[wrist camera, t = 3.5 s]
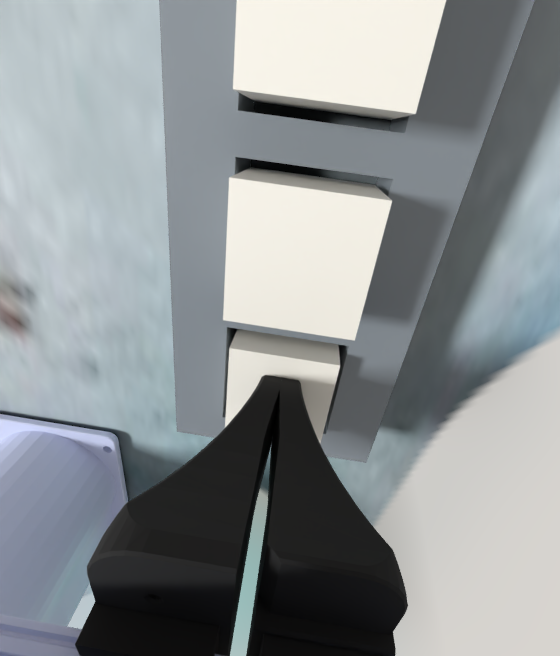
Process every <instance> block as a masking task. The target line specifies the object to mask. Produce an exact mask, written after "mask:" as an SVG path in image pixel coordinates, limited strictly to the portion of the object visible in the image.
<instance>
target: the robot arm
mask: <svg viewBox="0 0 560 656" xmlns="http://www.w3.org/2000/svg"><path fill="white" fill-rule="evenodd" d="M270 447H271V458H270V475H269V493H268V507H267V508H268V509H267V517H266V525H265V532H264V538H263V546H262V552H261V560H260V566H259V573H258V580H257V586H256V593H255V600H254V607H253V614H252V621H251V628H250V635H249V641H248V648H247V655H246V656H395V643H394V637H393V631H394V629H395V628H396V626H397V625H398V623H399V622H400V620H401V619H402V617H403V616H404V614H405V612H406V610H407V606H408V604H407V597H406V591H405V587H404V583H403V579H402V576H401V572H400V569H399V566H398V563H397V560H396V557H395V555H394V552H393V550H392V549H391V547H390V546H389V545H388V544H387V543H386V542H385V540H384V539H383V538H382V537H381V536H380V535H379V533H378V532H377V531H376V530H375V529H374V527H373V526H372V525H371V524H370V522H369V521H368V520H367V518H366V517H365V516H364V514H363V513H362V512H361V511H360V509H359V508H358V507H357V505H356V504H355V502H354V501H353V499H352V498H351V496H350V495H349V493H348V492H347V490H346V489H345V487H344V486H343V484H342V483H341V481H340V480H339V478H338V476H337V475H336V473H335V471H334V470H333V468H332V466H331V464H330V462H329V461H328V459H327V457H326V455H325V453H324V451H323V449H322V447H321V445H320V442H319V440H318V438H317V436H316V433H315V431H314V428H313V426H312V423H311V420H310V418H309V415H308V412H307V409H306V406H305V402H304V398H303V394H302V389H301V383H300V382H299V380H294V379H288V378H282V377H275V376H269V375H264V376H262V377H261V380H260V382H259V383H258V385H257V387H256V389H255V390H254V392H253V393H252V395H251V396H250V398H249V399H248V400H247V402H246V403H245V404H244V406H243V407H242V408H241V410H240V411H239V412H238V413H237V415H236V416H235V417H234V418H233V419H232V420H231V422H230V423H229V424H228V425H227V426H226V427H225V428H224V429H223V430H222V431H221V433H220V434H219V435H218V436H217V437H216V438H215V439H213V440H212V441H211V442H210V443H209V444H208V445H207V446H206V447H205V448H204V449H203V450H201V451H200V452H199V453H198V454H197V455H196V456H195V457H193V458H192V459H191V460H190V461H188V462H187V463H186V464H185V465H183V466H182V467H181V468H179V469H178V470H176V471H175V472H174V473H172V474H171V475H170V476H168V477H167V478H165V479H164V480H163V481H161V482H160V483H158V484H157V485H155V486H154V487H152V488H150V489H149V490H147V491H145V492H144V493H142V494H141V495H139V496H137V497H136V498H134V499H132V500H131V501H129V502H128V497H127V491H126V485H125V478H124V472H123V466H122V460H121V454H120V448H119V441H118V438H117V436H116V435H115V434H113V433H110V432H106V431H100V430H94V429H88V428H82V427H76V426H70V425H64V424H58V423H52V422H46V421H40V420H34V419H28V418H22V417H15V416H9V415H3V414H0V656H230V651H231V645H232V639H233V632H234V627H235V621H236V615H237V609H238V603H239V597H240V591H241V585H242V579H243V573H244V567H245V561H246V556H247V549H248V544H249V538H250V532H251V526H252V520H253V515H254V510H255V505H256V500H257V497H258V493H259V489H260V485H261V482H262V478H263V474H264V470H265V466H266V463H267V459H268V455H269V451H270ZM89 583H90V585H91V588H92V591H93V595H94V598H95V604H94V606H93V608H92V610H91V612H90V614H89V616H88V618H87V620H86V622H85V624H84V626H83V629H78V628H72V627H67V626H68V624H69V622H70V620H71V618H72V616H73V614H74V612H75V610H76V608H77V606H78V604H79V602H80V600H81V598H82V597H83V595H84V593H85V591H86V589H87V587H88V585H89Z"/></svg>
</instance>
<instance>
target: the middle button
mask: <svg viewBox="0 0 560 656" xmlns="http://www.w3.org/2000/svg"><path fill="white" fill-rule="evenodd" d="M391 204H392V200H391V199H390V198H389V197H388V196H386V195H385V194H384V193H383V192H382V191H381V190H380V189H379V188H377V187H376V186H375V185H373V184H366V183H359V182H352V181H345V180H338V179H331V178H324V177H317V176H310V175H302V174H295V173H288V172H281V171H274V170H267V169H260V168H253V167H251V168H249V169H247V170H244V171H242V172H240V173H238V174H235V175H233V176H231V177H229V192H228V215H227V238H226V262H225V285H224V309H223V320H225V321H232V322H238V323H244V324H251V325H257V326H264V327H270V328H277V329H283V330H289V331H296V332H302V333H309V334H315V335H322V336H328V337H335V338H341V339H347V340H354V341H355V338H356V334H357V330H358V327H359V323H360V319H361V315H362V312H363V308H364V304H365V301H366V297H367V293H368V289H369V286H370V282H371V278H372V274H373V271H374V267H375V263H376V260H377V256H378V252H379V248H380V245H381V241H382V237H383V234H384V230H385V226H386V222H387V219H388V215H389V211H390V208H391Z"/></svg>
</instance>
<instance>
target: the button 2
mask: <svg viewBox="0 0 560 656" xmlns="http://www.w3.org/2000/svg"><path fill="white" fill-rule="evenodd" d="M445 3H446V0H237V4H236V28H235V51H234V74H233V90H235V91H237V92H239V93H241V94H243V95H245V96H246V97H248V98H250V99H252V100H254V101H256V102H261V103H269V104H276V105H283V106H291V107H298V108H306V109H313V110H320V111H328V112H335V113H342V114H350V115H357V116H364V117H372V118H379V119H386V120H392V119H396V118H400V117H405V116H409V115H413V114H416V111H417V107H418V103H419V100H420V96H421V92H422V89H423V85H424V81H425V77H426V74H427V70H428V66H429V62H430V59H431V55H432V51H433V48H434V44H435V40H436V36H437V33H438V29H439V25H440V22H441V18H442V14H443V10H444V7H445Z"/></svg>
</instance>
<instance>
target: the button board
mask: <svg viewBox="0 0 560 656" xmlns="http://www.w3.org/2000/svg"><path fill="white" fill-rule="evenodd" d="M534 1H535V0H446V3H445V7H444V10H443V14H442V18H441V22H440V25H439V29H438V33H437V36H436V40H435V44H434V48H433V51H432V55H431V59H430V62H429V66H428V70H427V74H426V77H425V81H424V85H423V89H422V92H421V96H420V100H419V103H418V107H417V111H416V114H413V115H409V116H405V117H400V118H396V119H392V120H391V124H390V129H389V131H384V130H377V129H369V128H362V127H355V126H347V125H340V124H333V123H325V122H318V121H311V120H304V119H296V118H289V117H282V116H274V115H267V114H260V113H254V104H255V101H254V100H252V99H250V98H248V97H246V96H245V95H243V94H241V93H239V92H237V91H235V90H233V74H234V51H235V28H236V4H237V0H159V5H160V30H161V54H162V79H163V103H164V128H165V152H166V177H167V201H168V226H169V250H170V275H171V299H172V324H173V348H174V373H175V397H176V422H177V432H183V433H189V434H195V435H201V436H207V437H213V438H216V437H217V436H218V435H219V434H220V433H221V431H222V430H223V429H224V428H225V418H226V400H227V382H228V364H229V348H230V346H231V343H232V341H233V338H234V336H235V334H236V331H237V329H243V330H249V331H256V332H262V333H268V334H275V335H281V336H288V337H294V338H301V339H307V340H313V341H320V342H326V343H333V344H338V346H339V357H340V369H339V373H338V377H337V380H336V384H335V388H334V392H333V396H332V400H331V404H330V408H329V412H328V416H327V420H326V424H325V427H324V431H323V435H322V439H321V443H320V445H321V447H322V449H323V451H324V453H325V455H326V456H328V457H334V458H340V459H346V460H352V461H358V462H364V463H366V462H367V459H368V457H369V454H370V451H371V448H372V446H373V443H374V440H375V437H376V435H377V432H378V429H379V426H380V424H381V421H382V418H383V415H384V413H385V410H386V407H387V404H388V402H389V399H390V396H391V394H392V391H393V388H394V385H395V383H396V380H397V377H398V374H399V372H400V369H401V366H402V363H403V361H404V358H405V355H406V352H407V350H408V347H409V344H410V341H411V339H412V336H413V333H414V330H415V328H416V325H417V322H418V319H419V317H420V314H421V311H422V308H423V306H424V303H425V300H426V298H427V295H428V292H429V289H430V287H431V284H432V281H433V278H434V276H435V273H436V270H437V267H438V265H439V262H440V259H441V256H442V254H443V251H444V248H445V245H446V243H447V240H448V237H449V234H450V232H451V229H452V226H453V223H454V221H455V218H456V215H457V212H458V210H459V207H460V204H461V201H462V199H463V196H464V193H465V191H466V188H467V185H468V182H469V180H470V177H471V174H472V171H473V169H474V166H475V163H476V160H477V158H478V155H479V152H480V149H481V147H482V144H483V141H484V138H485V136H486V133H487V130H488V127H489V125H490V122H491V119H492V116H493V114H494V111H495V108H496V105H497V103H498V100H499V97H500V95H501V92H502V89H503V86H504V84H505V81H506V78H507V75H508V73H509V70H510V67H511V64H512V62H513V59H514V56H515V53H516V51H517V48H518V45H519V42H520V40H521V37H522V34H523V31H524V29H525V26H526V23H527V20H528V18H529V15H530V12H531V9H532V7H533V4H534ZM251 159H255V160H262V161H269V162H276V163H283V164H290V165H297V166H304V167H311V168H318V169H325V170H332V171H340V172H347V173H354V174H361V175H368V176H375V177H378V178H377V183H376V187H377V188H379V189H380V190H381V191H382V192H383V193H384V194H385V195H386V196H388V197H389V198H390V199H391V200H392V204H391V208H390V211H389V215H388V219H387V222H386V226H385V230H384V234H383V237H382V241H381V245H380V248H379V252H378V256H377V260H376V263H375V267H374V271H373V274H372V278H371V282H370V286H369V289H368V293H367V297H366V301H365V304H364V308H363V312H362V315H361V319H360V323H359V327H358V330H357V334H356V338H355V341H354V340H347V339H341V338H335V337H328V336H322V335H315V334H309V333H302V332H296V331H289V330H283V329H277V328H270V327H264V326H257V325H251V324H244V323H238V322H232V321H225V320H223V309H224V285H225V262H226V238H227V215H228V192H229V177H231V176H233V175H235V174H238V173H240V172H242V171H244V170H247V169H249V168H250V161H251Z"/></svg>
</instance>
